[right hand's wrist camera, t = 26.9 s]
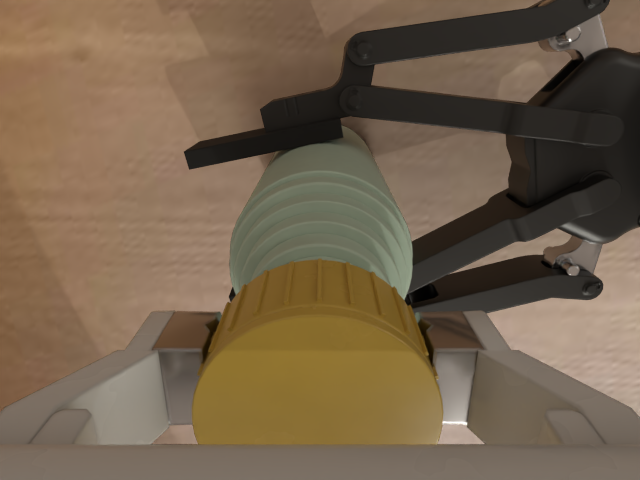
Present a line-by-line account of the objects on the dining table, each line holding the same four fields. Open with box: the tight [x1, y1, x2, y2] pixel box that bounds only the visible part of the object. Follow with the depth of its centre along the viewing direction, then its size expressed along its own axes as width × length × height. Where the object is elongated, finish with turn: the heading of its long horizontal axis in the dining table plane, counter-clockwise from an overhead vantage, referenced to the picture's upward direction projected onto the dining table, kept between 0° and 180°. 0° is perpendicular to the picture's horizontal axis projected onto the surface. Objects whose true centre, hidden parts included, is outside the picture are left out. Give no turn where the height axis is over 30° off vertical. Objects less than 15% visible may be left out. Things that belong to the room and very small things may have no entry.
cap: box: [192, 259, 443, 444], centre depth 9 cm, size 5×5×2 cm
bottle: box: [229, 125, 413, 300], centre depth 18 cm, size 6×6×19 cm
